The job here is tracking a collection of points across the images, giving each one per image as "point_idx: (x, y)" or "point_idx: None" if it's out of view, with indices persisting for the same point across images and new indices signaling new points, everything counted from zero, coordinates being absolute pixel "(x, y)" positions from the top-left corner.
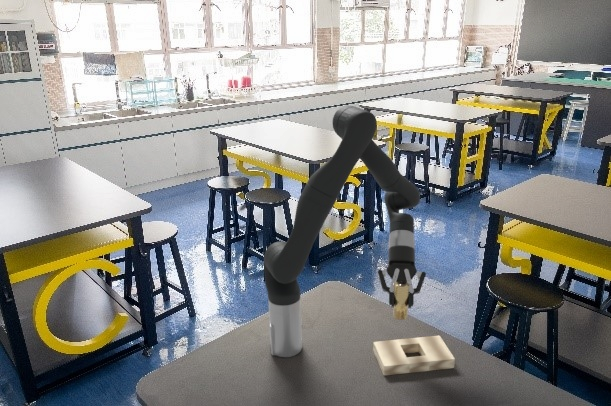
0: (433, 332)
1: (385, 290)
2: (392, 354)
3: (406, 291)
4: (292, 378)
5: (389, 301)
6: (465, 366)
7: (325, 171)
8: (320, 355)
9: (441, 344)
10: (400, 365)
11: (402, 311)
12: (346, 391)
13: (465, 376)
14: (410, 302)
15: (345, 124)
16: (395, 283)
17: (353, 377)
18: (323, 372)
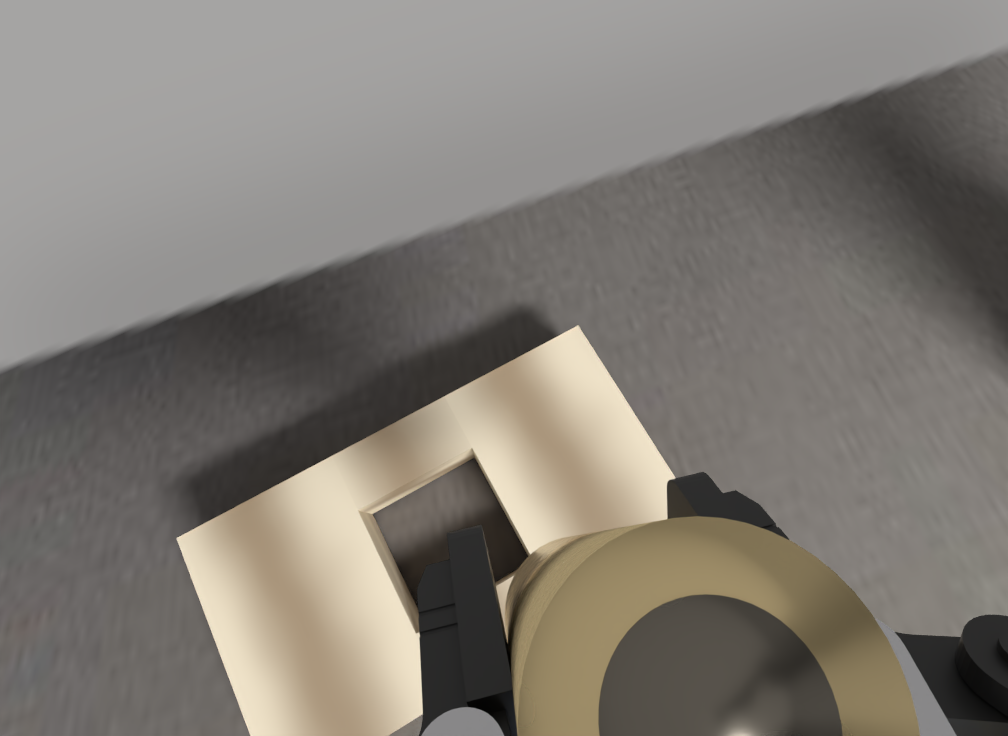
0: None
1: (955, 645)
2: (559, 445)
3: (546, 589)
4: (956, 196)
5: (759, 512)
6: (144, 584)
7: None
8: (938, 393)
9: (261, 678)
10: (494, 372)
11: (554, 542)
12: (697, 199)
13: (153, 491)
14: (460, 569)
15: None
16: (893, 725)
17: (704, 291)
18: (852, 277)
